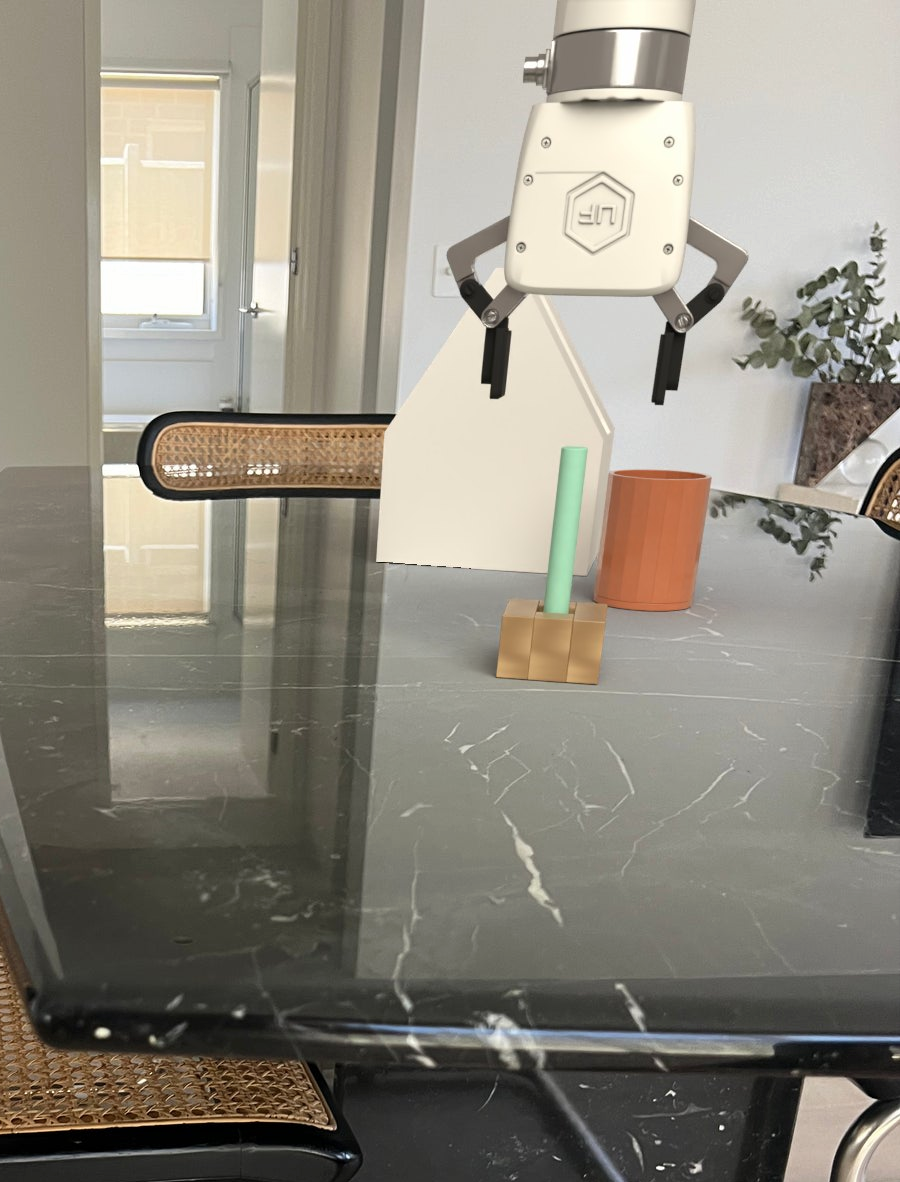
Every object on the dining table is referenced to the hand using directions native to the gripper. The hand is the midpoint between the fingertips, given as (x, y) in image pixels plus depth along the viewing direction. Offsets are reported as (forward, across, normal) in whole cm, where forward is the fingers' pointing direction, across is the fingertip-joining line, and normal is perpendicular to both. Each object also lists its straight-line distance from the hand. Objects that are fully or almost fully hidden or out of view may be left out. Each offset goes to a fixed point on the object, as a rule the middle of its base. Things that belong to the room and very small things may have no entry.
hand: (576, 400), depth 90 cm
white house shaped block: (+17, -8, +48) cm, 51 cm away
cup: (+17, +6, +28) cm, 33 cm away
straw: (+17, 0, 0) cm, 17 cm away
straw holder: (+17, 0, 0) cm, 17 cm away
